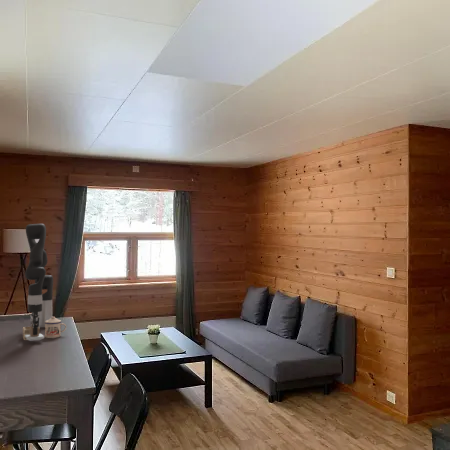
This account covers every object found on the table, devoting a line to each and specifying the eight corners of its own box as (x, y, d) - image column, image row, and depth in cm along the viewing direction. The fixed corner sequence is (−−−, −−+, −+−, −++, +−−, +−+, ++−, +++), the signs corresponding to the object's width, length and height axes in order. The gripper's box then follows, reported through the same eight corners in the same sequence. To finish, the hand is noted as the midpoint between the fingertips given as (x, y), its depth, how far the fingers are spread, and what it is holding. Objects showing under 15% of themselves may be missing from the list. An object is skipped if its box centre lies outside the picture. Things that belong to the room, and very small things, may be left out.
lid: (24, 338, 261) (25, 326, 261) (41, 337, 265) (41, 324, 265) (27, 341, 253) (27, 328, 254) (43, 340, 258) (44, 327, 258)
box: (22, 337, 271) (22, 327, 271) (37, 336, 275) (37, 325, 275) (24, 340, 264) (24, 329, 264) (39, 338, 268) (39, 328, 268)
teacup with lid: (44, 338, 268) (44, 318, 268) (44, 335, 277) (44, 315, 277) (66, 337, 273) (66, 317, 273) (65, 334, 281) (66, 314, 281)
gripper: (25, 301, 264) (25, 332, 264) (29, 305, 252) (29, 337, 251) (40, 301, 268) (39, 331, 267) (44, 304, 256) (43, 335, 255)
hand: (34, 333), depth 259 cm, fingers closed on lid, 4 cm apart
